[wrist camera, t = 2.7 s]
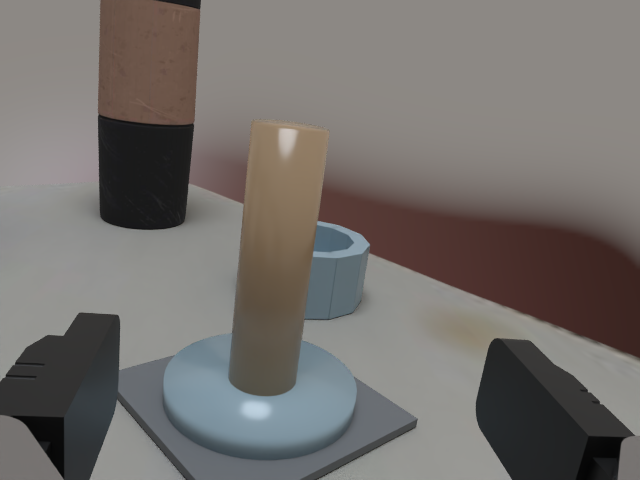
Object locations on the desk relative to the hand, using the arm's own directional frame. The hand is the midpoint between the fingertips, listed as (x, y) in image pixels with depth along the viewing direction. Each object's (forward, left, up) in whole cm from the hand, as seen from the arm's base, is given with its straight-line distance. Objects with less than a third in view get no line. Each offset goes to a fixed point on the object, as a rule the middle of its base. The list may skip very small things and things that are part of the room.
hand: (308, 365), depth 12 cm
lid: (-9, +7, -8) cm, 14 cm away
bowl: (-18, +17, -9) cm, 26 cm away
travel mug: (-37, +15, -9) cm, 41 cm away
